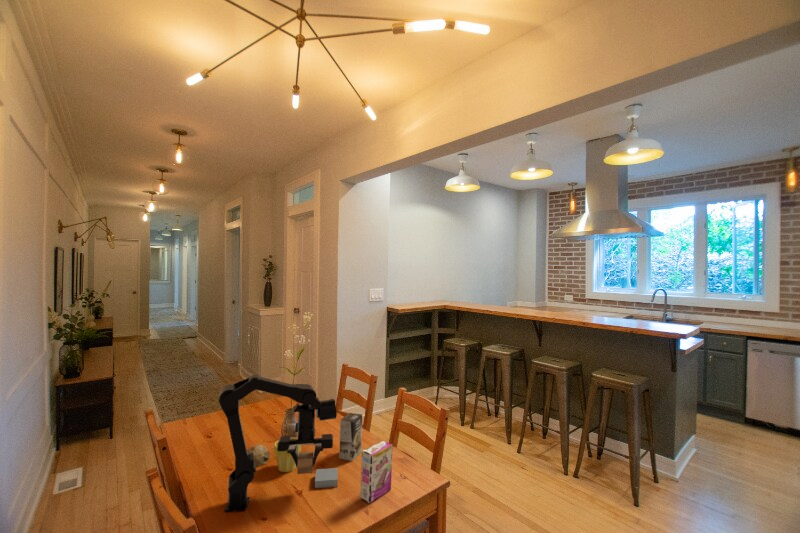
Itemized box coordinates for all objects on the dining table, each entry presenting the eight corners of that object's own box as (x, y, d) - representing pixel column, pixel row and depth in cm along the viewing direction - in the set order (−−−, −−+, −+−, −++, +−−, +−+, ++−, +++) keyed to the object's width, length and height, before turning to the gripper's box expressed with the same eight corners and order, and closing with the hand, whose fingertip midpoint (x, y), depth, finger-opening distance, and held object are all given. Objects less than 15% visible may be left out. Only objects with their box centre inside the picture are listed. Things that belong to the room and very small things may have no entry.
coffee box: (352, 461, 152) (353, 422, 152) (338, 458, 154) (339, 419, 154) (362, 451, 160) (362, 414, 160) (348, 449, 162) (349, 412, 162)
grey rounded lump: (255, 477, 145) (263, 460, 144) (234, 463, 147) (242, 446, 146) (269, 464, 155) (277, 448, 154) (249, 451, 157) (257, 435, 156)
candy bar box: (370, 504, 124) (371, 455, 124) (359, 498, 127) (360, 450, 127) (392, 490, 132) (393, 443, 133) (381, 484, 135) (382, 439, 136)
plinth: (337, 486, 134) (337, 479, 134) (314, 488, 132) (314, 481, 132) (337, 474, 142) (337, 467, 142) (316, 476, 140) (316, 469, 140)
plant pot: (299, 459, 153) (300, 435, 153) (302, 472, 143) (303, 446, 143) (273, 463, 149) (273, 439, 149) (274, 477, 139) (274, 450, 139)
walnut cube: (312, 472, 129) (312, 458, 129) (297, 474, 128) (297, 459, 128) (313, 465, 133) (313, 451, 134) (298, 466, 133) (299, 452, 133)
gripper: (333, 412, 140) (332, 453, 140) (282, 414, 137) (281, 456, 137) (333, 424, 129) (332, 469, 129) (277, 427, 126) (276, 473, 126)
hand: (305, 466), depth 131 cm, fingers closed on walnut cube, 5 cm apart
